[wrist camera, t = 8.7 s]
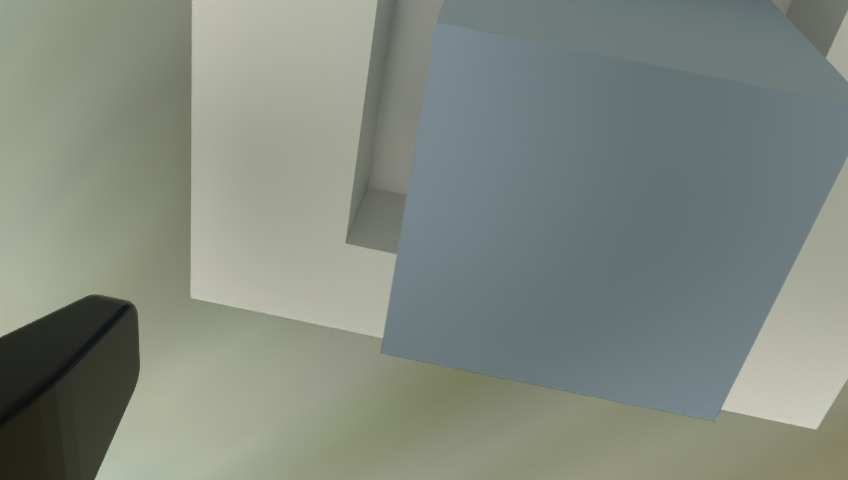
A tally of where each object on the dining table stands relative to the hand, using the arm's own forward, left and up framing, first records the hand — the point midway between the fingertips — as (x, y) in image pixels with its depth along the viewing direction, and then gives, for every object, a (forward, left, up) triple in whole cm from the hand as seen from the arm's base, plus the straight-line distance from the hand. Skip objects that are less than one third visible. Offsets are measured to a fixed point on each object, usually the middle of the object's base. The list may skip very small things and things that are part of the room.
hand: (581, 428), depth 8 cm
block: (0, 0, -10) cm, 10 cm away
